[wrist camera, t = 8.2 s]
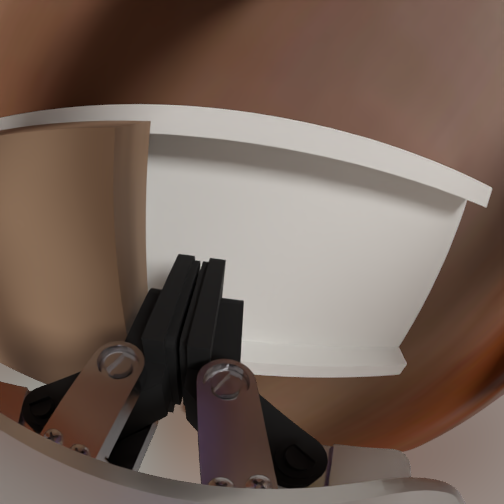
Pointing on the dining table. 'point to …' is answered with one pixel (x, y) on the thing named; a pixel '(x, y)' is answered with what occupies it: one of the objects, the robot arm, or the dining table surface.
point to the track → (295, 229)
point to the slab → (70, 242)
